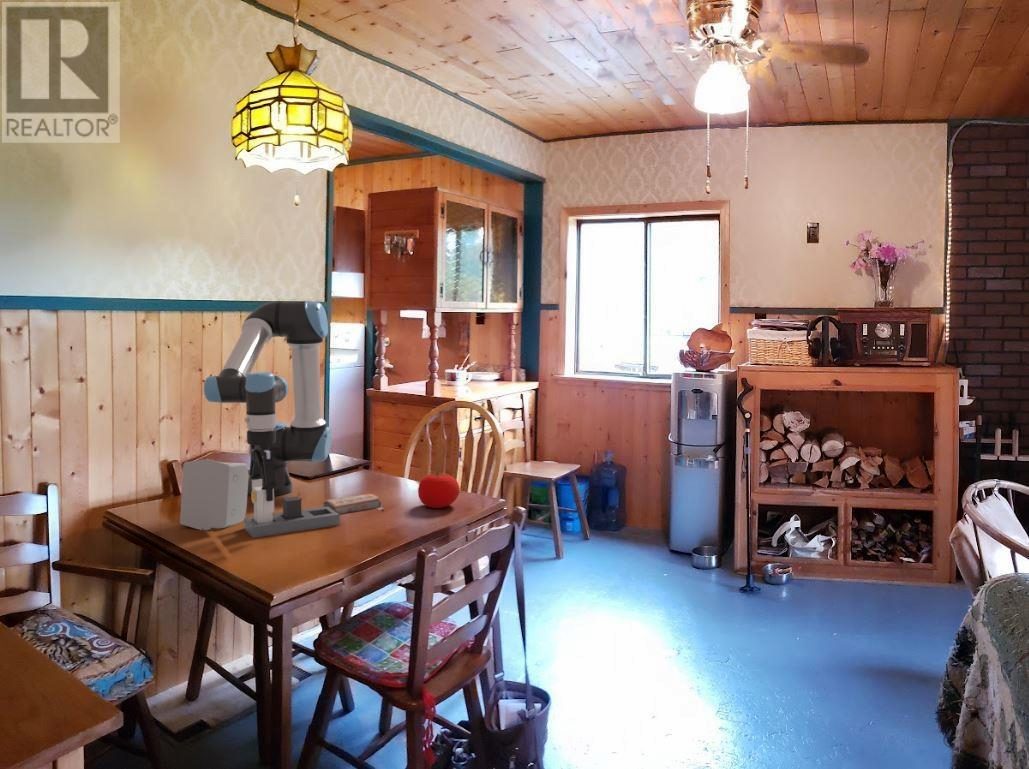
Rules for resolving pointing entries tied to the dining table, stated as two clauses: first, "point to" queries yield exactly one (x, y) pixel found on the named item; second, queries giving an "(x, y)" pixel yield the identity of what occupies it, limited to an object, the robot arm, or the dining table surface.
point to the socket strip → (293, 522)
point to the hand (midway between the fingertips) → (263, 507)
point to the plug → (259, 507)
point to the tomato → (438, 490)
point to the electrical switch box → (213, 494)
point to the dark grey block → (291, 508)
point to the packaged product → (354, 503)
